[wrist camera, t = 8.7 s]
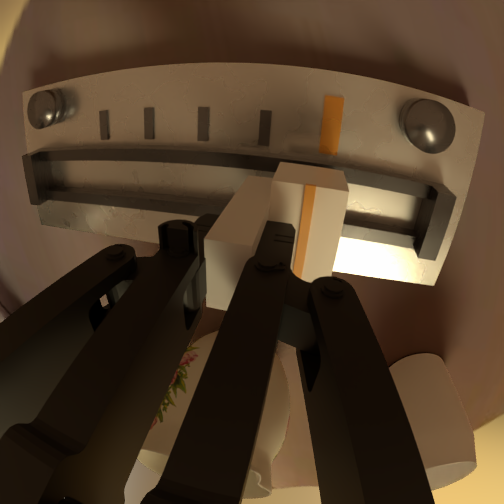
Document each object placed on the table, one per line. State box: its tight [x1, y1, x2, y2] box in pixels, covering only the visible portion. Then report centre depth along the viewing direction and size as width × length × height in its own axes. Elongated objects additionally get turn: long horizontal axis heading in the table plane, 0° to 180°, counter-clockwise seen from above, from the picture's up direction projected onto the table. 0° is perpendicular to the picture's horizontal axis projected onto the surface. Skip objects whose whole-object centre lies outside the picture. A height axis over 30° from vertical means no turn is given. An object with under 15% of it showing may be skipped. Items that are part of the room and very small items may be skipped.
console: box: [22, 63, 485, 286], centre depth 17 cm, size 32×12×4 cm, turn 87°
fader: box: [269, 162, 349, 282], centre depth 15 cm, size 3×4×5 cm, turn 177°
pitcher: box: [137, 330, 290, 499], centre depth 23 cm, size 11×18×14 cm, turn 153°
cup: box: [389, 353, 477, 491], centre depth 21 cm, size 9×9×12 cm
